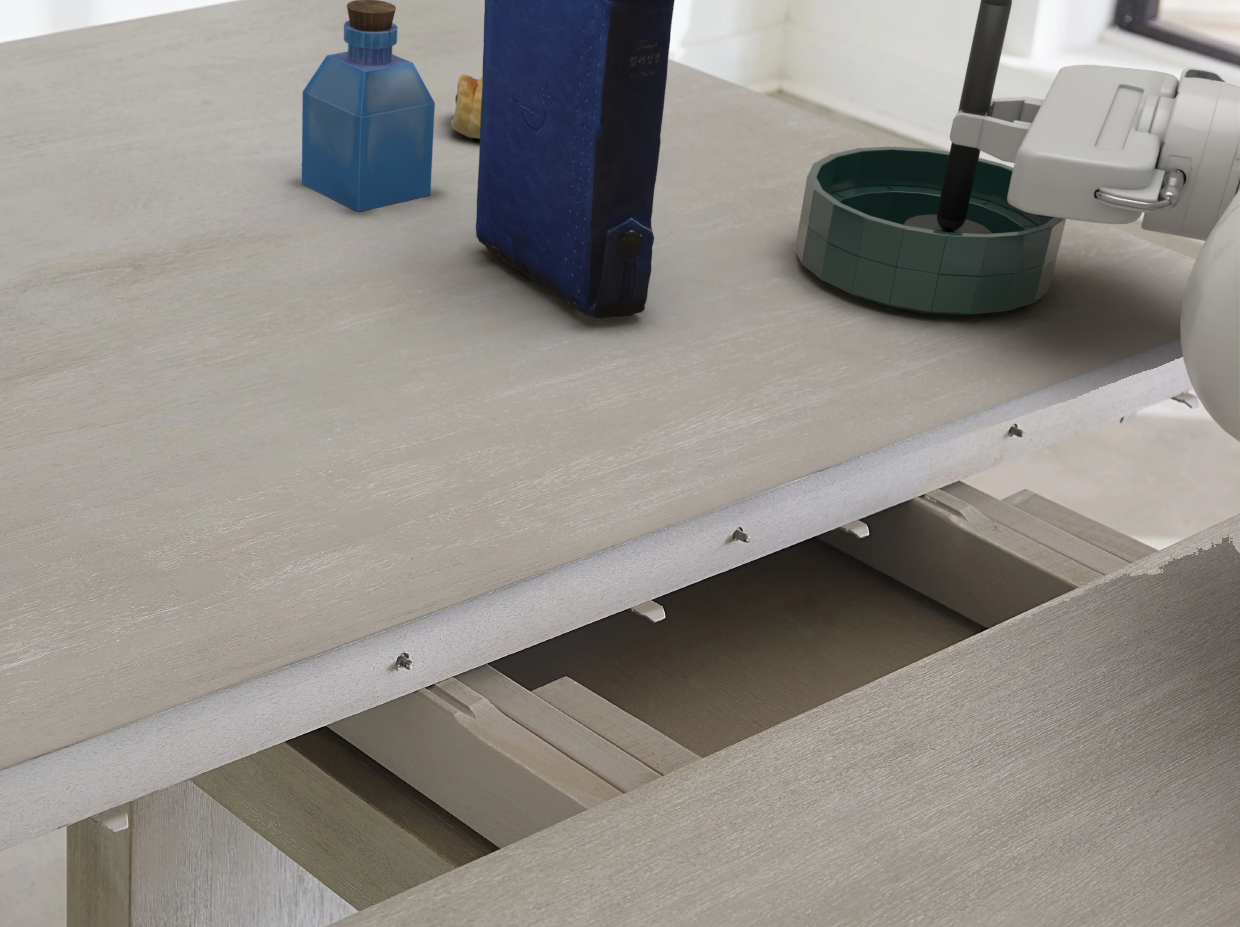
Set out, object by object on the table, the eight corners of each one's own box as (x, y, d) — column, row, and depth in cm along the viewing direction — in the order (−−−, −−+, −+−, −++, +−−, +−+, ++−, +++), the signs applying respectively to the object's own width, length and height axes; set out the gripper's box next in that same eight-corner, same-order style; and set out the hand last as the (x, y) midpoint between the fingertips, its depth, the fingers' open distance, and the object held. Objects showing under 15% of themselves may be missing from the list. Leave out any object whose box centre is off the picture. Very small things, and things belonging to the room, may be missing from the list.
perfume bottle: (301, 183, 129) (303, 0, 122) (373, 167, 132) (379, -12, 125) (358, 211, 125) (363, 24, 118) (430, 194, 128) (439, 12, 122)
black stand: (972, 255, 124) (1033, -24, 114) (994, 288, 119) (1059, 1, 109) (887, 251, 123) (941, -29, 113) (906, 284, 119) (964, -5, 109)
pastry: (575, 121, 143) (579, 70, 141) (578, 152, 138) (583, 99, 136) (451, 113, 143) (453, 62, 141) (449, 143, 138) (452, 90, 135)
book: (659, 320, 113) (702, -29, 102) (585, 334, 111) (621, -21, 100) (530, 237, 123) (556, -90, 112) (460, 249, 121) (479, -84, 109)
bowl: (1009, 233, 130) (1028, 153, 127) (1078, 329, 117) (1100, 243, 114) (776, 220, 129) (789, 140, 126) (819, 316, 116) (834, 229, 113)
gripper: (1160, 266, 106) (916, 220, 110) (1187, 163, 122) (973, 125, 126) (1191, 155, 102) (938, 110, 106) (1215, 63, 118) (994, 27, 122)
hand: (957, 117), depth 116 cm, fingers closed on black stand
